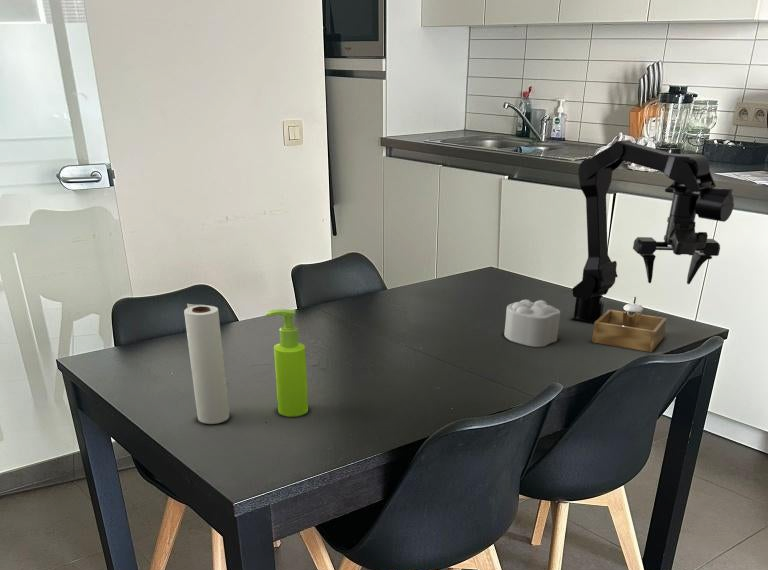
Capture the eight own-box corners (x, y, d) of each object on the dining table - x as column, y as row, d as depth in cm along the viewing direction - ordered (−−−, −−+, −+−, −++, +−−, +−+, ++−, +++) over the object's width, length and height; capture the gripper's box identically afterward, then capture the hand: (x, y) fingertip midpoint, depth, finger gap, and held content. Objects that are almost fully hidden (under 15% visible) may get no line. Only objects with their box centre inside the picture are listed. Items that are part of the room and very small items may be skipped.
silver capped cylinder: (637, 337, 193) (645, 297, 188) (636, 344, 189) (643, 303, 184) (619, 335, 194) (625, 295, 189) (617, 342, 190) (624, 301, 185)
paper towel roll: (228, 424, 147) (216, 313, 136) (195, 425, 146) (181, 314, 135) (231, 409, 153) (220, 301, 142) (200, 410, 152) (187, 302, 141)
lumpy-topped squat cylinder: (538, 348, 185) (542, 313, 181) (494, 336, 193) (497, 302, 189) (561, 338, 192) (566, 304, 187) (518, 327, 199) (522, 293, 195)
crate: (591, 342, 190) (594, 322, 187) (605, 328, 199) (608, 309, 197) (651, 352, 184) (655, 331, 181) (663, 337, 193) (667, 318, 191)
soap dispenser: (273, 405, 155) (266, 306, 144) (308, 404, 155) (303, 305, 145) (272, 417, 150) (265, 315, 139) (308, 416, 150) (303, 314, 140)
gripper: (649, 221, 171) (637, 291, 179) (735, 222, 171) (718, 293, 179) (638, 211, 181) (626, 279, 189) (719, 213, 180) (704, 281, 188)
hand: (668, 283), depth 186 cm, fingers open, 9 cm apart
